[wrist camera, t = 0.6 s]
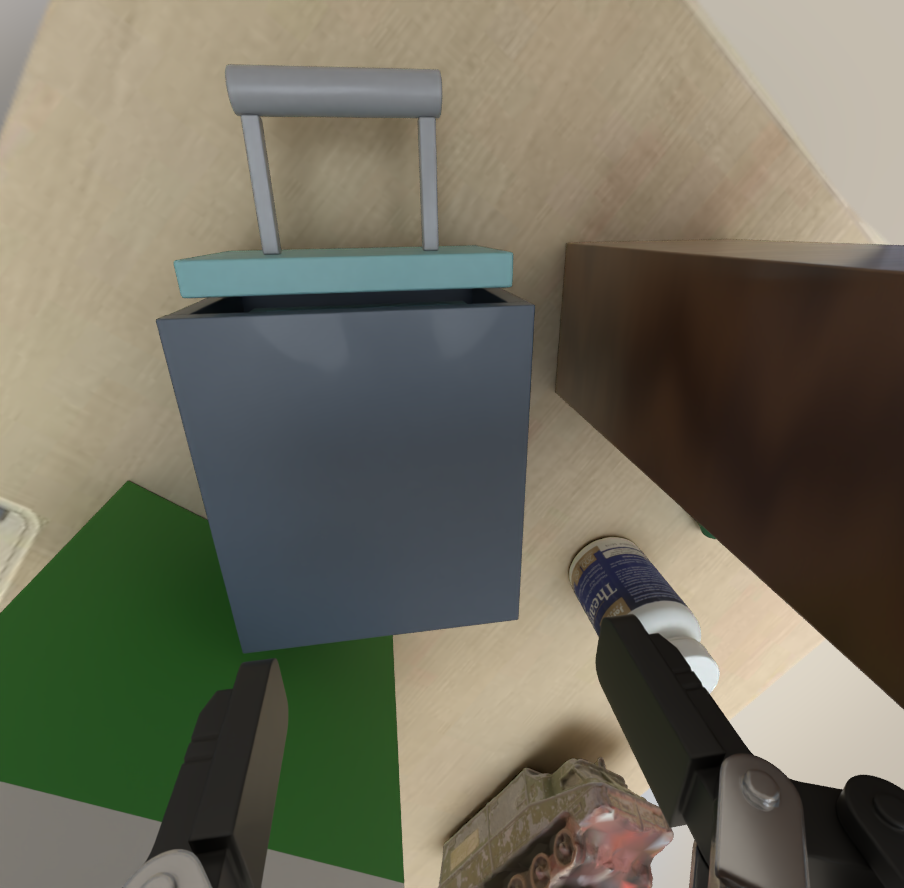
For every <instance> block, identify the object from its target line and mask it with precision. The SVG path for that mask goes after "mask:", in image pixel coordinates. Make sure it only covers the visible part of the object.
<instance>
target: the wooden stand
mask: <svg viewBox="0 0 904 888" xmlns="http://www.w3.org/2000/svg"><path fill="white" fill-rule="evenodd" d="M555 392H556V393H557V394H558V395H559V396H560V397H561V398H562V399H563V400H564V401H565V402H567V403H568V404H569V405H570V406H571V407H572V408H573V409H574V410H575V411H576V412H578V413H579V414H580V415H581V416H582V417H583V418H584V419H585V420H586V421H587V422H588V423H590V424H591V425H592V426H593V427H594V428H595V429H596V430H597V431H598V432H599V433H601V434H602V435H603V436H604V437H605V438H606V439H607V440H608V441H609V442H610V443H612V444H613V445H614V446H615V447H616V448H617V449H618V450H619V451H620V452H621V453H623V454H624V455H625V456H626V457H627V458H628V459H629V460H630V461H631V462H632V463H634V464H635V465H636V466H637V467H638V468H639V469H640V470H641V471H642V472H643V473H644V474H646V475H647V476H648V477H649V478H650V479H651V480H652V481H653V482H654V483H655V484H657V485H658V486H659V487H660V488H661V489H662V490H663V491H664V492H665V493H666V494H668V495H669V496H670V497H671V498H672V499H673V500H674V501H675V502H676V503H677V504H679V505H680V506H681V507H682V508H683V509H684V510H685V511H686V512H687V513H688V514H690V515H691V516H692V517H693V518H694V519H695V520H696V521H697V522H698V523H699V524H701V525H702V526H703V527H704V528H705V529H706V530H707V531H708V532H709V533H710V534H711V535H713V536H714V537H715V538H716V539H717V540H718V541H719V542H720V543H721V544H722V545H724V546H725V547H726V548H727V549H728V550H729V551H730V552H731V553H732V554H733V555H735V556H736V557H737V558H738V559H739V560H740V561H741V562H742V563H743V564H744V565H746V566H747V567H748V568H749V569H750V570H751V571H752V572H753V573H754V574H755V575H757V576H758V577H759V578H760V579H761V580H762V581H763V582H764V583H765V584H766V585H767V586H769V587H770V588H771V589H772V590H773V591H774V592H775V593H776V594H777V595H778V596H780V597H781V598H782V599H783V600H784V601H785V602H786V603H787V604H788V605H789V606H791V607H792V608H793V609H794V610H795V611H796V612H797V613H798V614H799V615H800V616H802V617H803V618H804V619H805V620H806V621H807V622H808V623H809V624H810V625H811V626H813V627H814V628H815V629H816V630H817V631H818V632H819V633H820V634H821V635H822V636H824V637H825V638H826V639H827V640H828V641H829V642H830V643H831V644H832V645H834V647H836V648H837V649H838V650H839V651H840V652H841V653H842V654H843V655H844V656H846V657H847V658H848V659H849V660H850V661H851V662H852V663H853V664H854V665H855V666H856V667H858V668H859V669H860V670H861V671H862V672H863V673H864V674H865V675H867V676H868V677H869V678H870V679H871V680H872V681H873V682H874V683H875V684H876V685H877V686H879V687H880V688H881V689H882V690H883V691H884V692H885V693H886V694H887V695H888V696H889V697H891V698H892V699H893V700H894V701H895V702H896V703H897V704H898V705H899V706H900V707H901V708H903V709H904V245H877V244H849V243H822V242H794V241H766V240H739V239H710V240H665V241H619V242H574V243H567V245H566V258H565V271H564V284H563V298H562V311H561V324H560V337H559V351H558V364H557V377H556V390H555Z"/></svg>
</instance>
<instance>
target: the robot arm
mask: <svg viewBox="0 0 904 888" xmlns="http://www.w3.org/2000/svg"><path fill="white" fill-rule="evenodd" d="M596 671H597V675H598V679H599V682H600V684H601V687H602V689H603V691H604V693H605V695H606V697H607V699H608V701H609V703H610V705H611V707H612V710H613V712H614V714H615V716H616V718H617V720H618V722H619V724H620V726H621V728H622V730H623V732H624V734H625V736H626V739H627V741H628V743H629V745H630V747H631V749H632V751H633V753H634V755H635V757H636V759H637V761H638V763H639V765H640V768H641V770H642V772H643V774H644V776H645V778H646V780H647V782H648V784H649V786H650V788H651V790H652V792H653V794H654V796H655V799H656V801H657V803H658V805H659V807H660V809H661V811H662V813H663V815H664V817H665V819H666V821H667V823H668V826H669V828H671V827H676V826H682V825H687V826H688V828H689V829H690V832H691V834H692V835H693V837H694V839H695V840H694V844H693V850H692V862H691V872H690V883H689V888H904V790H903V789H901V788H900V787H898V786H896V785H894V784H893V783H891V782H889V781H886V780H884V779H881V778H878V777H875V776H870V775H858V776H854V777H852V778H850V779H849V780H848V781H847V783H846V785H845V787H844V789H843V790H842V789H836V788H831V787H826V786H820V785H815V784H809V783H803V782H798V781H795V780H792V779H789V778H788V777H787V776H786V775H785V774H784V773H782V771H780V770H779V769H778V768H777V767H775V766H774V765H773V764H771V763H770V762H768V761H766V760H764V759H762V758H760V757H757V756H754V755H753V754H752V753H751V752H750V751H749V749H748V748H747V747H746V745H745V744H744V743H743V741H742V740H741V738H740V737H739V735H738V734H737V733H736V731H735V730H734V728H733V727H732V725H731V724H730V722H729V721H728V720H727V718H726V717H725V715H724V714H723V712H722V711H721V710H720V708H719V707H718V705H717V704H716V702H715V701H714V700H713V698H712V697H711V695H710V694H709V692H708V691H707V690H706V688H705V687H703V686H702V682H701V681H700V680H699V678H698V677H697V675H696V674H695V672H694V671H692V670H691V667H690V665H689V664H688V663H687V661H686V660H685V658H684V657H683V655H682V654H681V653H680V651H679V650H678V648H677V647H675V646H674V645H673V644H672V643H670V642H669V641H668V640H667V639H665V638H664V637H663V636H662V635H660V634H659V633H654V634H648V632H647V631H646V629H645V628H644V626H643V625H642V623H641V622H640V620H639V619H638V618H637V617H636V616H635V615H634V614H626V615H618V616H610V617H604V618H603V619H602V622H601V627H600V634H599V640H598V647H597V653H596ZM287 729H288V701H287V697H286V693H285V688H284V684H283V680H282V676H281V672H280V668H279V664H278V661H277V659H276V658H271V659H264V660H256V661H248V662H243V663H241V665H240V667H239V670H238V673H237V676H236V680H235V683H234V686H233V689H225V690H218V691H216V692H215V694H214V695H213V696H212V698H211V699H210V700H209V702H208V703H207V704H206V705H205V707H204V708H203V709H202V711H201V712H200V714H199V717H198V719H197V722H196V725H195V728H194V731H193V734H192V737H191V743H189V745H188V748H187V751H186V754H185V757H184V763H183V764H182V765H181V768H180V771H179V774H178V777H177V780H176V783H175V786H174V788H173V791H172V794H171V797H170V800H169V803H168V806H167V809H166V811H165V814H164V817H163V820H162V823H161V826H160V829H159V832H158V834H157V837H156V840H155V843H154V845H153V848H152V850H151V852H150V854H149V856H148V858H147V860H146V861H145V863H144V864H143V865H142V866H141V867H140V868H139V869H137V870H136V871H135V873H134V874H133V875H132V876H131V877H130V878H129V879H128V881H127V882H126V883H125V884H124V886H123V887H122V888H261V885H262V879H263V873H264V867H265V861H266V855H267V849H268V843H269V837H270V831H271V825H272V819H273V813H274V807H275V801H276V795H277V789H278V783H279V777H280V771H281V765H282V759H283V753H284V747H285V741H286V735H287Z"/></svg>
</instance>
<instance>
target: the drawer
mask: <svg viewBox="0 0 904 888" xmlns="http://www.w3.org/2000/svg"><path fill="white" fill-rule="evenodd" d="M225 78H226V86H227V91H228V95H229V99H230V103H231V106H232V108H233V111H234V112H235V114H236V115H237V116H241V122H242V128H243V134H244V140H245V146H246V152H247V158H248V164H249V171H250V177H251V183H252V189H253V195H254V201H255V207H256V213H257V220H258V226H259V232H260V238H261V244H262V250H248V251H226V252H221V253H215V254H209V255H203V256H197V257H192V258H186V259H180V260H175V261H174V267H175V272H176V276H177V280H178V284H179V289H180V293H181V296H182V298H209V297H238V296H268V295H297V294H327V293H356V292H386V291H416V290H445V289H475V288H504V287H511V286H512V279H513V253H512V252H508V251H503V250H497V249H492V248H486V247H481V246H476V245H472V246H439V239H438V198H437V157H436V119H435V118H440V115H441V110H442V79H441V73H440V70H438V69H399V68H358V67H317V66H276V65H235V64H228V65H226V68H225ZM259 116H265V117H352V118H419V119H418V146H419V173H420V199H421V226H422V247H383V248H338V249H293V250H281V244H280V238H279V231H278V224H277V217H276V211H275V204H274V197H273V190H272V184H271V177H270V170H269V163H268V157H267V150H266V143H265V136H264V130H263V123H262V119H261V118H260V117H259ZM455 304H467V303H465V302H464V301H444V302H417V303H389V304H362V305H335V306H308V307H281V308H255V309H253V310H251V311H250V312H271V311H297V310H323V309H350V308H376V307H403V306H429V305H455Z"/></svg>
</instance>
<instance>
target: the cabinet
mask: <svg viewBox="0 0 904 888" xmlns="http://www.w3.org/2000/svg"><path fill="white" fill-rule="evenodd" d="M444 301H464V302H465V303H467V304H455V305H429V306H403V307H376V308H350V309H323V310H297V311H271V312H250V311H251V310H253V309H255V308H281V307H308V306H335V305H362V304H389V303H417V302H444ZM534 315H535V305H534V304H532V303H530V302H528V301H525V300H523V299H521V298H519V297H517V296H515V295H513V294H511V293H509V292H507V291H505V290H503V289H501V288H475V289H445V290H416V291H386V292H356V293H327V294H297V295H268V296H238V297H209V298H206V299H204V300H201V301H199V302H197V303H194V304H192V305H190V306H188V307H185V308H183V309H181V310H178V311H176V312H174V313H171V314H169V315H165V316H163V317H161V318H158V319H156V323H157V327H158V331H159V335H160V339H161V343H162V346H163V350H164V354H165V358H166V362H167V365H168V369H169V373H170V377H171V381H172V385H173V388H174V392H175V396H176V400H177V404H178V408H179V411H180V415H181V419H182V423H183V427H184V430H185V434H186V438H187V442H188V446H189V450H190V453H191V457H192V461H193V465H194V469H195V473H196V476H197V480H198V484H199V488H200V492H201V495H202V499H203V503H204V507H205V511H206V515H207V518H208V522H209V526H210V530H211V534H212V538H213V541H214V545H215V549H216V553H217V557H218V560H219V564H220V568H221V572H222V576H223V580H224V583H225V587H226V591H227V595H228V599H229V603H230V606H231V610H232V614H233V618H234V622H235V625H236V629H237V633H238V637H239V641H240V645H241V648H242V652H243V653H252V652H260V651H268V650H276V649H285V648H293V647H301V646H309V645H317V644H325V643H333V642H341V641H349V640H357V639H365V638H374V637H382V636H390V635H398V634H406V633H414V632H422V631H430V630H438V629H446V628H454V627H462V626H471V625H479V624H487V623H495V622H503V621H511V620H518V615H519V596H520V577H521V559H522V540H523V521H524V502H525V484H526V465H527V446H528V428H529V409H530V390H531V371H532V353H533V334H534Z"/></svg>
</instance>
